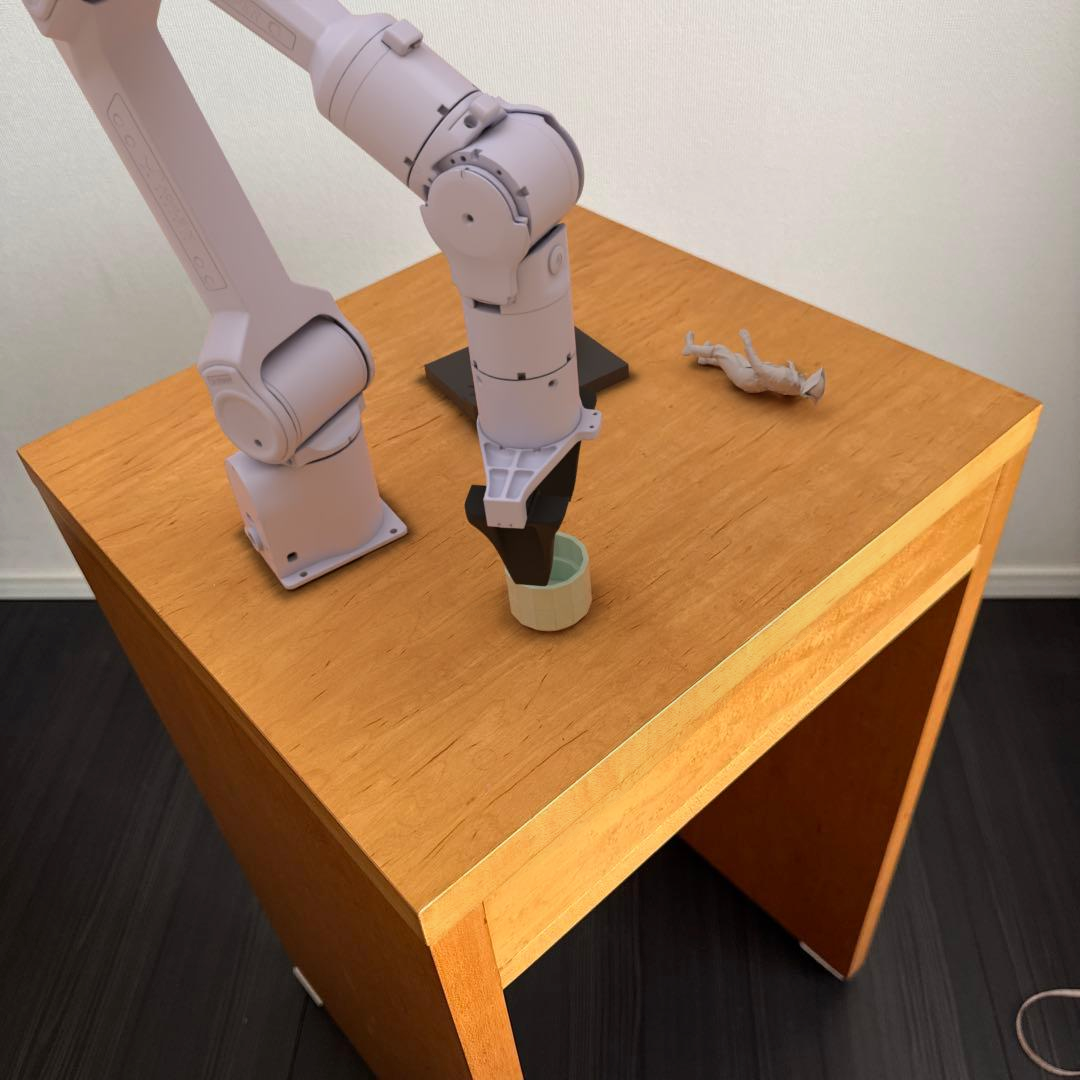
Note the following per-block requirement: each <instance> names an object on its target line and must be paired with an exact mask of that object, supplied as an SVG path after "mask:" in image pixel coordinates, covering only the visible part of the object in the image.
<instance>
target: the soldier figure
mask: <svg viewBox="0 0 1080 1080" xmlns="http://www.w3.org/2000/svg"><path fill="white" fill-rule="evenodd" d="M738 335H739V337H740V338H741V340H742V342H743V345H744V348H745V349H743V350H744V353H745V356H746V357H747V358H746V357H745V356H744V355H743V354H741V353H740V352H739V353H738V352H734V353H733V352H732V351H731V350H730V349H729V348H728V347H727V346H725V345H724V344H720V343H718V344H717V343H716V344H715V345H712V342H711V341H709V340H707V341H705V342H704V343H703V345H698V344H695V343H694V341H695V332H694V331H693V330H689V331H688V332H687V333H686V334H685V337H684V342H685V346H684V347H683V348H682V351H681V355H682V356H683V357H690V356H694V357H698V359H697V363H698V365H703V366H704V365H713V366H717V367H720V368H721V369H722V370H723V371H724V373H725V375H726V377H727V378H728V380H729V381H731V382H732V383H733V384H734V385H735V386H736V387H738V388H739V389H741V390H743V391H744V392H745V393H748V394H755V393H756V394H757V393H763V392H765V391H772V392H775V393H779V394H782V395H784V396H788V395H789V396H800V397H802V398H803V399H806V400H807V399H810V400H811V401H812V403H813V404H814V406H817V404H818V403H819V402H820V401H821V399H822V398H823V397H824V395H825V390H826V381H827V380H826V379H827V378H826V371H825V366H822V367H820V368H819V369H818V370H816V372H814V373H813V374H809V373H808V372H806V373H803V374H800V373H799V371H797V370H796V365H795V364H794V362H793V361H792V360H790V359H786V360H785V362H786V363H788V367H787V366H785V365H782V364H781V365H779V364H773V363H772V362H771V361H761V359H760V357H759V356H758V355H757V352H756V350H755V349H754V347H753V343H752V338H751V335H750V332H749V330H747V328H741V329H739V332H738ZM805 375H808V378H807V377H805ZM805 378H806V379H807V380H806V379H805Z"/></svg>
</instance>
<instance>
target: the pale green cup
mask: <svg viewBox="0 0 1080 1080" xmlns="http://www.w3.org/2000/svg"><path fill="white" fill-rule="evenodd" d="M503 569H504V574H505V580H506V587H507V594H508V601H509V609H510V613H511V615H512V616H513V617H514V618H515V619H516V620H517V621H518V622H519V623H520V624H521V625H523V626H525V627H527V628H531V629H534V630H535V631H541V632H556V631H561V630H564V629H565V630H566V629H568V628H570V627H572V626H574V625H576V623H578V622H579V621H580V620H581V619H582V618H584V617H586V615H587V614H588V612H589V609H590V607H591V605H592V602H593V594H592V582H591V567H590V557H589V553H588V549H587V546H586V545H585V544H584V543H582V541H580V539H578V538H577V537H576V536H575V535H571V534H569V533H565V532H562V531H561V530H560V531H559V530H558V531H557V532H556V534H555V540H554V553H553V565H552V570H551V574H550V578H549V582H548V585H547V586H545V587H544V586H532V585H520V584H515V583H514V581H513V580H512V578H511V576H510V574H509V573H508V571H507V569H506V567H505V565H504V564H503Z"/></svg>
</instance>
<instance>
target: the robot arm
mask: <svg viewBox="0 0 1080 1080" xmlns="http://www.w3.org/2000/svg"><path fill="white" fill-rule="evenodd" d="M208 1H209V2H210V3H212V4H213V5H215V6H216V7H217V8H218V9H220V10H221V11H223V12H224V13H225V14H226V15H229V17H231V18H232V19H233V20H235V21H236V22H238V23H239V24H240V25H242V26H243V27H245V28H246V29H248V31H250V32H251V33H253V34H254V35H255V36H258V37H259V38H260V39H261V40H263V41H264V42H265V43H267V44H268V45H269V46H271V47H272V48H274V49H275V50H276V51H278V52H279V53H281V54H282V55H283V56H284V57H286V58H287V59H289V60H290V61H292V62H293V63H294V64H296V65H297V66H298V67H300V68H301V69H303V70H304V71H306V73H308V74H309V78H310V81H311V86H312V92H313V98H314V103H315V106H316V109H317V111H318V113H319V114H320V115H321V116H322V117H323V118H324V119H326V120H327V121H328V122H329V123H331V124H332V125H333V126H334V127H335V128H336V129H337V130H338V131H340V132H341V133H342V135H344V136H346V137H347V138H348V139H349V140H351V141H352V142H353V143H354V144H355V145H356V146H358V147H359V148H360V149H361V150H363V151H364V152H365V153H366V154H367V155H368V156H370V157H371V158H372V159H373V160H375V161H376V162H377V163H378V164H379V165H380V166H381V167H383V168H384V169H385V170H387V171H388V172H389V173H390V174H391V176H393V177H394V178H396V179H397V180H398V181H399V182H401V183H402V184H403V185H404V186H405V187H407V189H409V190H410V191H411V192H412V193H413V194H415V196H417V197H418V198H420V199H421V200H422V201H423V202H424V204H420V205H419V211H420V215H421V218H422V222H423V224H424V227H425V229H426V231H427V232H428V234H429V236H430V238H431V239H432V241H433V242H434V244H435V245H436V246H437V247H438V249H439V250H440V251H441V253H442V254H443V255H444V257H445V259H446V261H447V263H448V266H449V271H450V276H451V277H450V278H451V281H452V282H451V284H452V285H454V286H456V288H457V291H458V293H459V294H460V301H461V307H462V314H463V320H464V327H465V333H466V339H467V347H469V353H470V361H471V368H472V374H473V381H474V387H475V394H476V400H477V407H478V413H479V415H478V418H477V423H476V431H477V437H478V441H479V448H480V452H481V459H482V464H483V469H484V474H485V475H484V476H485V480H486V481H485V483H486V484H485V485H483V484H471V485H470V487H469V490H468V493H467V495H466V498H465V501H464V504H463V505H464V511H465V516H466V520H467V522H468V523H469V524H470V525H471V526H472V527H474V528H476V529H477V530H478V531H479V532H480V533H481V534H483V535H484V536H485V537H486V538H487V540H488V541H489V542H490V543H491V544H492V545H493V547H494V549H495V550H496V552H497V553H498V556H499V557H500V559H501V561H502V563H503V566H504V565H505V567H506V569H507V571H508V573H509V574H510V576H511V578H512V580H513V581H514V583H515V584H520V585H532V586H544V587H545V586H547V585H548V582H549V578H550V574H551V570H552V565H553V553H554V540H555V534H556V532H557V531H559V529H560V528H561V526H562V524H563V521H564V519H565V517H566V515H567V511H568V510H567V509H568V507H569V503H571V502H572V499H573V496H574V495H573V494H574V491H575V487H576V482H577V475H578V468H579V461H580V451H581V446H582V441H595V440H596V439H599V437H600V435H601V433H602V432H601V431H602V427H603V423H604V421H603V413H602V412H601V411H600V410H598V409H596V407H597V403H598V398H597V397H598V396H597V393H596V392H595V391H594V390H592V389H590V388H587V387H579V385H578V372H577V357H576V344H575V331H574V326H575V322H574V321H575V320H574V308H573V295H572V282H571V266H570V254H569V253H570V252H569V241H568V230H567V229H568V227H567V223H566V222H561V221H562V220H563V219H564V218H565V217H566V216H567V215H569V213H570V212H571V211H572V210H573V208H574V207H575V205H576V204H577V203H578V202H579V200H580V198H581V197H582V193H583V190H584V186H585V166H584V162H583V161H584V160H583V158H582V154H581V152H580V150H579V149H580V148H579V147H578V145H577V144H576V142H575V139H574V138H573V137H572V135H571V134H570V133H569V131H567V129H566V128H565V127H564V126H563V125H562V124H561V123H560V122H559V121H558V119H557V118H556V116H555V115H554V114H553V113H552V112H551V111H549V110H547V109H545V108H543V107H540V106H537V105H534V104H528V103H516V104H514V103H509V102H508V101H506V100H505V99H503V98H502V97H501V96H499V95H498V96H496V97H495V96H493V95H490V94H489V93H487V92H484V91H482V90H481V89H480V88H479V87H478V86H476V85H475V84H474V83H473V82H471V81H470V80H469V78H467V77H465V76H464V75H463V74H462V73H461V72H460V71H458V70H457V69H456V68H455V67H453V65H451V64H450V63H449V62H448V61H447V60H445V59H444V58H443V57H441V55H439V54H438V53H437V52H436V51H435V50H433V49H432V48H431V47H430V46H429V45H428V44H426V43H425V42H424V41H423V40H424V33H423V32H422V31H421V30H420V29H418V28H417V27H416V26H415V25H414V24H413V23H412V22H410V21H409V20H408V19H407V18H401V19H399V20H398V19H397V18H396V17H394V15H392V14H390V13H387V12H374V13H368V14H353V13H352V12H350V11H349V9H347V8H346V7H345V5H343V3H341V2H340V1H339V0H208ZM21 3H22V4H23V6H24V7H25V9H26V11H27V13H28V14H29V16H30V17H31V19H32V21H33V23H34V25H35V26H36V28H37V30H38V32H39V33H40V34H41V35H42V36H43V37H45V38H48V39H51V40H52V42H53V44H54V46H55V48H56V49H57V51H58V52H59V54H60V57H61V58H62V60H63V61H64V63H65V65H66V66H67V68H68V70H69V72H70V73H71V75H72V77H73V79H74V80H75V82H76V84H77V86H78V87H79V89H80V91H81V93H82V94H83V96H84V97H85V100H86V101H87V103H88V104H89V106H90V108H91V110H92V112H93V113H94V115H95V117H96V118H97V120H98V122H99V124H100V125H101V127H102V129H103V131H104V132H105V134H106V136H107V138H108V140H109V141H110V144H111V145H112V146H113V149H115V151H116V153H117V155H118V156H119V158H120V160H121V162H122V164H123V165H124V167H125V169H126V171H127V172H128V174H129V177H131V179H132V181H133V183H134V184H135V186H136V187H137V190H138V191H139V193H140V195H141V197H142V199H143V200H144V202H145V203H146V205H147V207H148V209H149V210H150V212H151V214H152V216H153V217H154V219H155V220H156V222H157V224H158V226H159V227H160V229H161V231H162V233H163V235H164V236H165V238H166V240H167V241H168V243H169V245H170V248H171V249H172V250H173V252H174V254H175V255H176V257H177V259H178V261H179V262H180V265H182V267H183V269H184V271H185V272H186V273H185V274H187V276H188V278H189V280H190V281H191V283H192V285H193V286H194V289H195V290H196V292H197V293H198V295H199V297H200V299H201V300H202V302H203V304H204V306H205V307H206V310H207V311H208V313H209V314H210V321H209V325H208V329H207V332H206V335H205V337H204V341H203V344H202V347H201V350H200V353H199V356H198V360H197V365H196V370H197V372H198V374H199V375H200V377H201V379H202V381H203V382H204V384H205V386H206V388H207V390H208V391H207V392H208V393H209V396H210V398H211V403H212V407H213V413H214V416H215V418H216V422H217V423H218V426H219V428H220V429H221V431H222V432H223V435H225V436H226V438H227V440H228V441H230V442H231V444H233V445H234V447H236V448H237V449H238V450H237V451H236V452H234V453H233V454H231V455H229V456H227V457H226V458H225V459H224V460H223V465H224V470H225V473H226V477H227V479H228V482H229V485H230V488H231V491H232V494H233V497H234V500H235V502H236V505H237V509H238V511H239V513H240V517H241V520H242V522H243V525H244V528H243V529H244V532H245V535H246V536H247V538H248V540H250V543H251V544H252V546H253V548H254V549H255V550H256V552H258V553H259V554H260V555H261V557H262V558H263V559H264V561H265V562H266V564H267V565H268V566H269V568H270V570H271V571H272V572H273V573H274V575H275V577H277V579H278V580H279V582H280V583H281V584H282V586H283V587H284V588H285V589H286V590H295V589H296V588H298V587H301V586H303V585H305V584H306V583H309V582H310V581H312V580H315V579H318V578H319V577H321V576H323V575H325V574H327V573H330V572H332V571H334V570H335V569H337V568H340V567H341V566H344V565H346V564H348V563H350V562H352V561H354V560H356V559H358V558H360V557H362V556H365V555H367V554H369V553H371V552H373V551H375V550H377V549H379V548H382V547H383V546H385V545H388V544H389V543H391V542H393V541H395V540H398V539H400V538H402V537H404V536H405V535H406V534H408V527H407V525H406V524H405V523H404V522H403V520H402V519H401V518H400V517H399V516H398V515H397V514H396V513H395V512H394V511H393V510H392V508H391V507H390V506H389V505H388V504H387V503H386V502H385V501H384V500H383V499H382V498H381V496H380V493H379V488H378V484H377V480H376V475H375V471H374V467H373V462H372V458H371V454H370V450H369V445H368V442H367V437H366V433H365V429H364V425H363V421H362V414H363V412H364V411H365V410H366V408H367V404H366V401H365V396H364V391H366V390H367V389H368V388H369V387H370V386H371V385H372V383H373V382H374V379H375V376H376V364H375V359H374V355H373V353H372V350H371V348H370V346H369V344H368V342H367V341H366V339H365V337H364V336H363V335H362V333H361V332H360V331H359V330H358V328H356V326H354V324H353V323H351V322H350V321H349V320H348V318H347V317H346V316H345V315H344V313H342V311H341V309H340V308H339V306H338V304H337V303H336V301H335V299H334V296H333V295H332V293H331V291H329V290H327V289H326V288H325V289H324V288H321V287H317V286H313V285H308V284H305V283H300V282H295V281H294V280H291V278H290V276H289V274H288V273H287V271H286V268H285V267H284V265H283V263H282V261H281V258H280V257H279V255H278V254H277V252H276V250H275V248H274V246H273V244H272V242H271V240H270V238H269V236H268V234H267V232H266V231H265V229H264V227H263V225H262V223H261V221H260V219H259V218H258V215H257V214H256V212H255V210H254V208H253V206H252V204H251V203H250V201H249V198H248V197H247V195H246V193H245V191H244V189H243V187H242V185H241V183H240V182H239V180H238V178H237V176H236V174H235V172H234V170H233V168H232V166H231V164H230V162H229V161H228V159H227V157H226V155H225V153H224V151H223V149H222V147H221V146H220V144H219V142H218V140H217V138H216V136H215V134H214V132H213V130H212V128H211V127H210V125H209V123H208V121H207V119H206V117H205V115H204V114H203V111H202V110H201V108H200V106H199V104H198V102H197V100H196V99H195V97H194V94H193V93H192V91H191V89H190V87H189V85H188V83H187V81H186V79H185V78H184V76H183V73H182V71H181V70H180V67H179V66H178V64H177V63H176V60H175V58H174V57H173V54H172V52H171V51H170V49H169V47H168V46H167V43H166V41H165V40H164V38H163V36H162V34H161V32H160V30H159V28H158V19H159V14H160V9H161V4H162V0H21ZM560 222H561V223H560Z"/></svg>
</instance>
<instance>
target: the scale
mask: <svg viewBox="0 0 1080 1080" xmlns="http://www.w3.org/2000/svg"><path fill="white" fill-rule="evenodd" d="M574 331H575V344H576V357H577V372H578V385H579V387H587V388H590V389H592V390H594V391H595V392H596V394H597V393H600V392H601V391H603V390H605V389H607V388H610V387H613V386H614V385H616V384H619V383H620V382H622V381H625V380H627V379H629V378H630V368H629V367H630V366H629V363H628V362H626V361H625V360H624V359H622V358H621V357H619V356H618V355H617V354H615V353H614V352H612V351H611V350H609V349H608V348H607V347H605V346H604V345H603V344H601V343H599V342H598V341H597V340H595V339H594V338H593V337H591V336H589V335H588V334H587V333H586V332H584V330H581V329H580V328H579V327H577V326H575V325H574ZM424 372H425V378H426V380H427V381H428V382H430V383H431V384H432V385H433V386H434V387H435V388H437V390H439V391H440V392H441V393H442V394H443V395H444V396H445V397H447V398H448V399H449V400H450V401H451V402H452V403H453V404H454V405H455V406H457V408H459V410H461V411H462V412H463V413H464V414H465V415H466V416H467V417H468V418H470V419H471V421H473V422H474V423H475V424H477V418H478V415H479V413H478V407H477V400H476V394H475V387H474V381H473V374H472V368H471V361H470V353H469V347H468V346H466V347H464V348H461V349H458V350H457V351H454V352H452V353H450V354H447V355H445V356H443V357H440V358H438V359H435V360H433V361H431V362H428V363H425V364H424Z"/></svg>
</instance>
